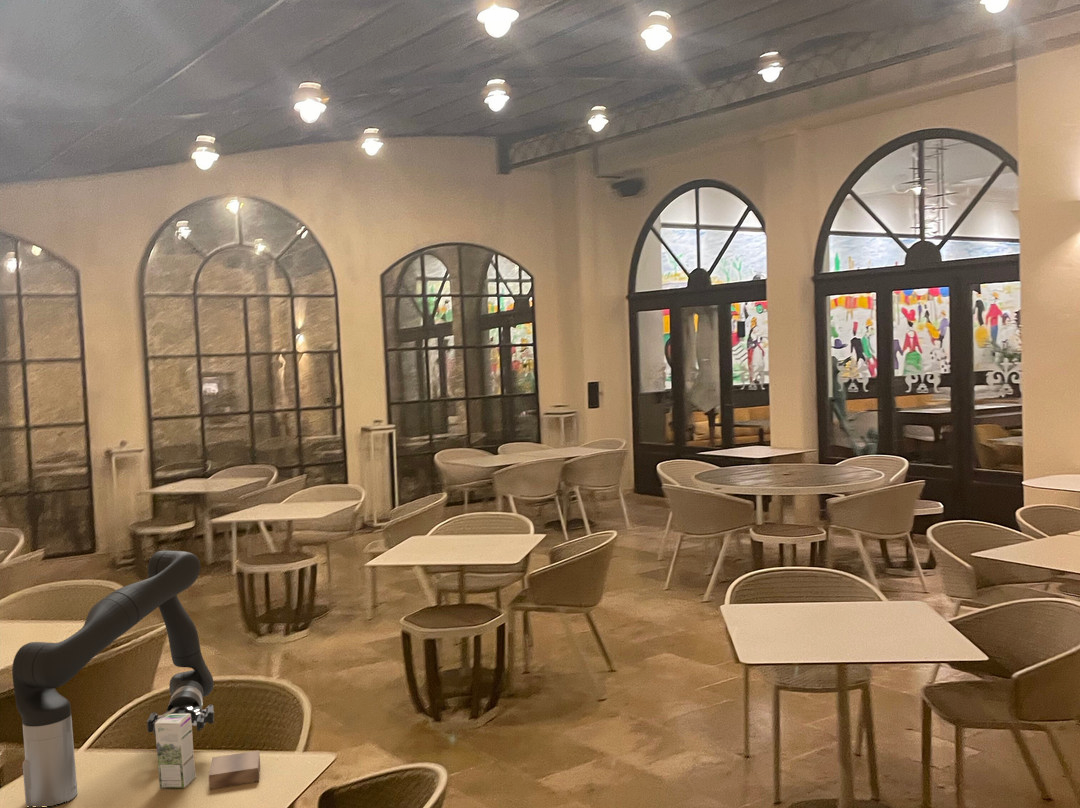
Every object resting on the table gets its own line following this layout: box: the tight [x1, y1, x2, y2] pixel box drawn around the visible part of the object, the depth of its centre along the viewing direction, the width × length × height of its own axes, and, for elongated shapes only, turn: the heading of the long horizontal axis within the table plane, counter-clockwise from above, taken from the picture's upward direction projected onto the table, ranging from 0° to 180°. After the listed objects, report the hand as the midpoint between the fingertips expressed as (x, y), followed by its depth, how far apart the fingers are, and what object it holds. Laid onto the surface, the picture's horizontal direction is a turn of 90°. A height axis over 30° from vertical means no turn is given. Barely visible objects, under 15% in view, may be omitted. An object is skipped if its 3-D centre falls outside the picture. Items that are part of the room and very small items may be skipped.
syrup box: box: [155, 714, 197, 789], centre depth 209 cm, size 6×6×14 cm
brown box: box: [208, 749, 261, 790], centre depth 211 cm, size 10×10×3 cm
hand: (178, 729), depth 216 cm, fingers open, 8 cm apart
